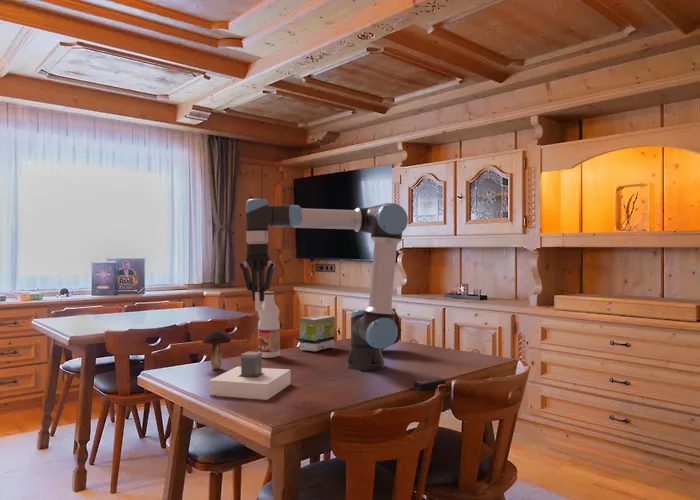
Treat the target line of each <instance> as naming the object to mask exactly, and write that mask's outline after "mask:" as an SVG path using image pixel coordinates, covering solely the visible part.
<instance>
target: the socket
mask: <svg viewBox="0 0 700 500" xmlns="http://www.w3.org/2000/svg"><path fill="white" fill-rule="evenodd" d="M208 382H209V383H208V384H209V389H208V391H209V392H208V393H209V394H208V395H209V396H214V395H216V396H217V397H228V398H240V399H241V398H242V399H252V400H262V401H264V400H266V401H268V400H269V399H271V398H273V396H275V395H277V394H278V393H280V392H281V391H283V390H284V389H286V388H287V387H288V386H290V385H291V369H287V368H285V369H284V368H269V367H262V375H261V376H259V377H257V378H251V377H241V366H236V367H234V368H231V369H229V370H227V371H226V372H223V373H221V374H219V375H217V376H215V377H213V378H211V379H209V381H208Z"/></svg>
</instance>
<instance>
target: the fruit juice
mask: <svg viewBox="0 0 700 500" xmlns="http://www.w3.org/2000/svg"><path fill="white" fill-rule="evenodd" d="M257 313H258V318H259V320H258V323H257V352H262V358H263V359H272V358H278V357H279V356H280V355H281V343H280V342H281V333H280V332H281V329H280V327H281V324H280V320H279V318H280V308H279V307H278V305H277V304H276V302H275V291H269V290H266V291H265V292H264V301H262V310H261V311H257Z"/></svg>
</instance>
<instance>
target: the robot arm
mask: <svg viewBox="0 0 700 500" xmlns="http://www.w3.org/2000/svg"><path fill="white" fill-rule="evenodd" d="M408 218H409V217H408V213H407V212H406V210H405V208H404V207H403V206H401V205H400V204H397V203H393V202H386V203H385V202H384V203H383V204H377V205H373V206H368V207H357V208H355V209H333V208H332V209H329V208H327V209H326V208H303V207H301V206H300V205H298V204H273V205H272V204H269V203H268V200H267V199H265V198H250V199H247V200H246V202H245V227H246V228H245V229H246V230H245V231H246V232H245V233H246V238H245V239H246V243H247V244H246V258H245V261H243V262H242V263H239V267H240V269H241V270H242V273H243V277H244V282H245V286H246V289H247V290H248V291H250V292H252V293H251V294H252V301H253V302H254V308H255V312H258V311H261V310H262V304H263V301H264V292H267V291H269V290H270V288H271V282H272V279H273V273H274V270H275V268H276V266H277V263H276V262H273V261H271V259H270V257H269V243H268V242H269V227H273V228H276V229H279V228H290V229H292V228H294V229H297V228H298V229H331V230H333V229H335V230H354V232H356V233H365V234H371V235H370V239H371V240H372V242H373V243H374V244H373V245H374V246H373V257H372V268H371V277H370V288H369V289H370V290H369V298H368V299H369V300H368V306H367V307H365V308H364V309H359V310H358V309H357V310H352V311H351V313H350V350H349V352H348V357H347V359H346V369H349V370H356V371H361V372H375V371H379V370H380V371H381V370H383V369H384V368H385V359H384V356H383V354H382V350H380V349H383V350H385V349H387V348H389V347H391V346H393V345H394V344H393V343H394V342H395V340H396V338H397V335H398V329H397V326H396V324H395V322H394V318H395V312H396V311H395V312H394V311H393V310H392V309H393V308H392V305H393V304H392V302H393V292H394V283H395V282H394V281H395V272H396V271H395V270H396V261H397V250H398V249H397V247H398V244H399V243H400V242H401V241H402V238H403V232H404V231H406V228H407V226H408V223H409V219H408ZM267 267H268V268H267ZM249 268H250V270H249ZM266 268H267V270H266ZM265 271H267V272H265ZM250 272H251V274H250ZM265 273H266V275H265ZM392 344H393V345H392ZM384 348H385V349H384Z"/></svg>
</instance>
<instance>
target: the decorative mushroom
mask: <svg viewBox="0 0 700 500" xmlns="http://www.w3.org/2000/svg"><path fill="white" fill-rule="evenodd" d="M231 341H232V339H231V338H230V336H229V335H227V334H226V333H225V332H222V331H220V330H213V331H211V332H209V333H207V334H206V335H205V336H204V337H203V339H202V341H201V343H203V344H209V345H210V344H211V345H212V346H211V352H210V366H211V368H212V369H213V370H219V369H220V368H221V367H222V366H223V357H222V356H223V355H222V354H223V353H222V348H221V344H228V343H231Z"/></svg>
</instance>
